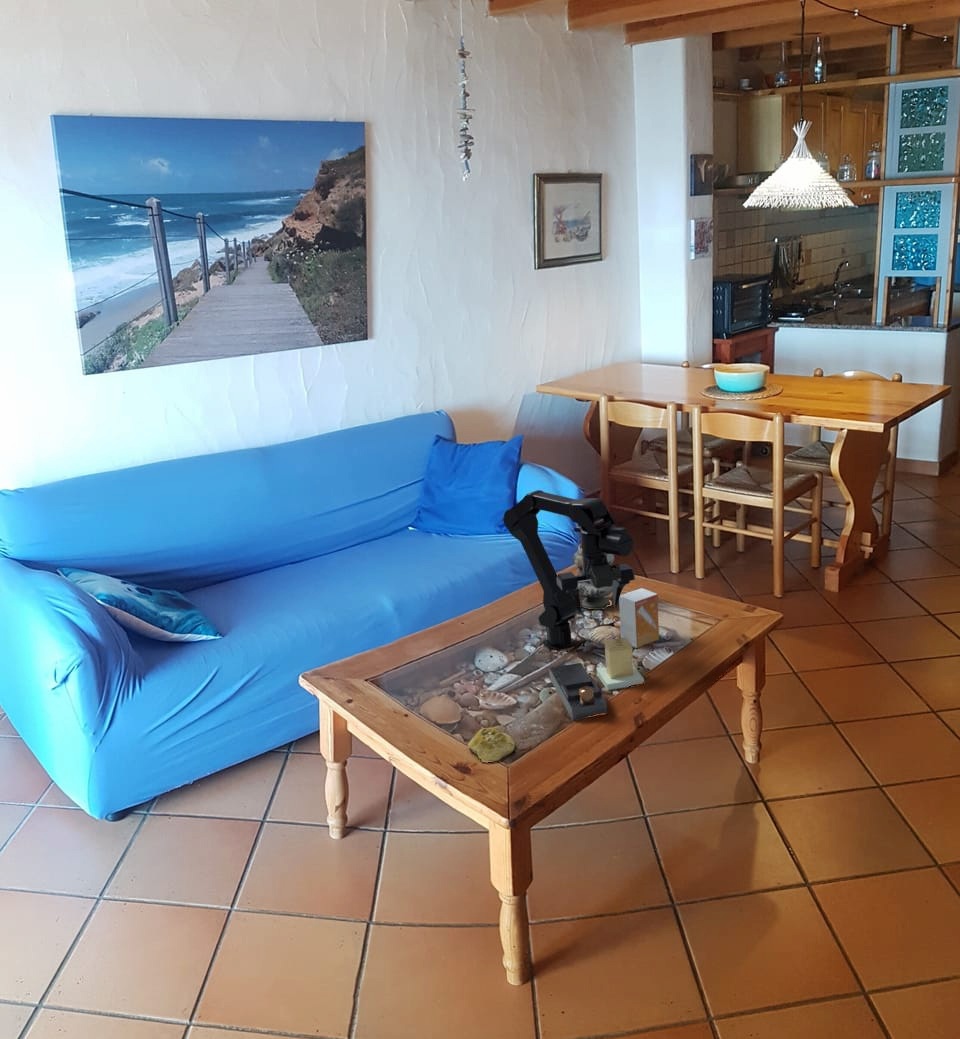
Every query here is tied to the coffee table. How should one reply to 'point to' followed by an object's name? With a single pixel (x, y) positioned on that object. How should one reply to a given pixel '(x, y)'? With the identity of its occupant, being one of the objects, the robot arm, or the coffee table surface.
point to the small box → (639, 617)
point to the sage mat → (619, 679)
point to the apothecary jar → (586, 589)
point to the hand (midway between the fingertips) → (597, 609)
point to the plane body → (577, 691)
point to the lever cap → (618, 658)
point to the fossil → (491, 744)
